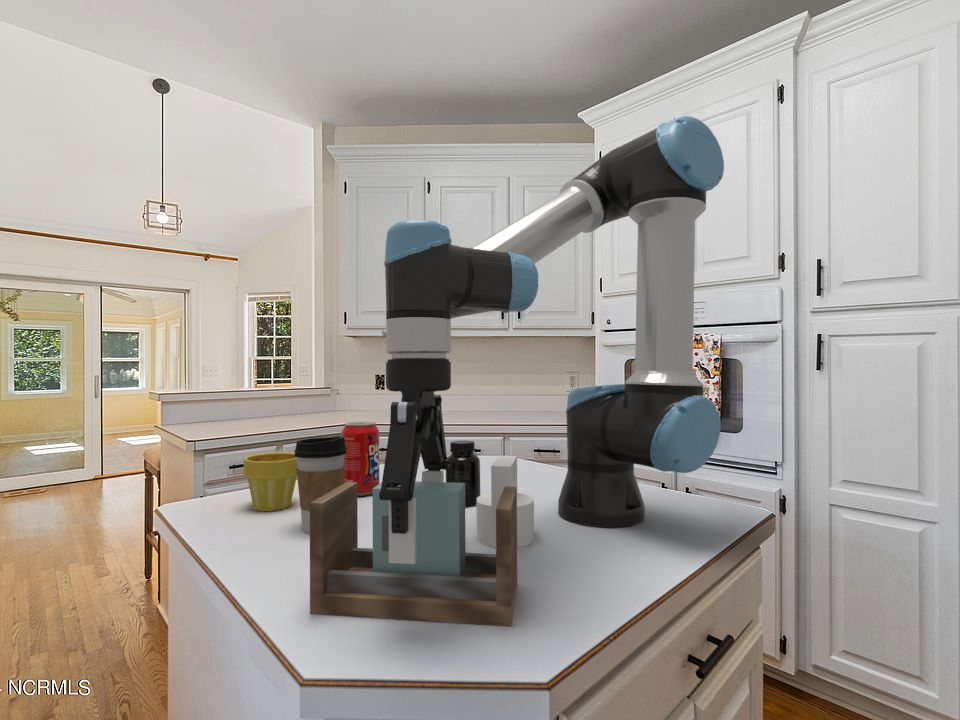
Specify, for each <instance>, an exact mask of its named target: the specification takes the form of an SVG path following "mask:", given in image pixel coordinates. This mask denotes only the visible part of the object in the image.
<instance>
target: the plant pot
mask: <svg viewBox="0 0 960 720" xmlns="http://www.w3.org/2000/svg"><path fill="white" fill-rule="evenodd" d="M294 455H295V452H290V451H289V452H286V451H285V452H284V451H283V452H282V451H281V452H280V451H278V452H276V451H275V452H262V453H256V454H251V455H247V456H245V457H244V459H243V476H244V477H245V478H247V483H248V488H249V493H250V497H251V503H252V508H253V509H254V510H255V511H257V510H258V511H257V512H264V511H267V512H275V511H274V510H277V511H281V510H280V509H282V510H284V508H285V509H287V508H286V507H288V506H289V507H291V505H292V500H293V495H294V490H295V488H296V487H295V486H296V481H297V468H298V466H297V457H295V456H294ZM289 507H288V508H289Z"/></svg>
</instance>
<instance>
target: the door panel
mask: <svg viewBox="0 0 960 720" xmlns="http://www.w3.org/2000/svg"><path fill="white" fill-rule="evenodd" d="M381 485H382V482H379V485H377V486H376V487H374V488H373V494H372V549H373V572H382V573H402V574H421V575H441V576H460V577H465V576H466V553H467V552H466V549H467V548H466V507H465V483H450V482H446V481H444V482H422V481H415V486H414V492H413V497H412V498H416V563H415V564H401V563H389V500H380V498H379V492H380V491H381ZM399 486H401V485H399Z"/></svg>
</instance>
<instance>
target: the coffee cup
mask: <svg viewBox="0 0 960 720" xmlns="http://www.w3.org/2000/svg"><path fill="white" fill-rule="evenodd" d="M346 450H347V448H346V445H345V438H344V437H341V436H331V437H329V436H328V437H315V438H305V439H300V440H297V441H296V444H295V449H294V452H293V453H295V455H294V456H295V457H297V466H298V468H297V478H296V480H297V486H298V495H299V496H298V497H299V506H300V515H301V528H302V531H303V532H305V533H307V534H310V503H311V502H312V501H314V500H316V499H318V498H319V497H321V496H323V495H325V494H326V493H328V492H330V491H332V490H334V489H335V488H337V487H339V486H341V485H342V484H343V479H344V468H345V466H344V454H346V453H347V452H346Z"/></svg>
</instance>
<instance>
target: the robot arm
mask: <svg viewBox="0 0 960 720" xmlns="http://www.w3.org/2000/svg"><path fill="white" fill-rule="evenodd" d="M721 148H722V147H721V145H720V143H719V141H718V138H717V137H716V136H715V135H714V132H713V131H712V130H711V128H710V127H709V126H708V125H707V124H706V123H704V122H703V121H702V120H700V119H698V118H696V117H693V116H687V115H685V116H679V117H677V118H675V119H673V120H670V121H668V122H663V123H661V124H660V125H658V127H656V128H654V129H652V130H650V131H648V132H646V133H644V134H642V135H640V136H639V137H636V138H635V139H632V140H631V141H628V142H627V143H625V144H623V145H620V146H617V147H616V148H614V149H612V150H610V151H608V152H607V153H606V154H605V155H603V156H601V157H600V158H599V159H598V160H597V161H595V162H594V163H592V164H590V166H588V167H587V168H586V169H585V170H583V171H582V172H581V173H579V174H578V175H577V176H575V177H574V178H572V179H570V180H568V181H566V183H565V184H563V185H562V187H561V189H560V190H559V194H557V195H556V196H554V197H553V198H551V199H549V200H547V201H546V202H544V203H542V204H540V205H539V206H538V207H536V208H534V209H532V210H531V211H529V212H528V213H526V214H524V215H523V216H521V217H520V218H518V219H516V220H515V221H513V222H511V223H509V224H508V225H507V226H505V227H503V228H501V229H500V230H498V231H496V232H495V233H492V234H491V235H489V236H488V237H487V238H485V239H484V240H482V241H481V242H479V243H477V244H475V245H474V246H472V247H464V246H459V245H455V244H452V243H453V242H452V238H451V232H450V229H449V227H448V226H447V225H445V224H444V223H439V222H438V221H437V220H430V219H408V220H407V219H406V220H401V221H398V222H396V223H394V224H393V225H391V226H390V227H389V228H388V230H387V232H386V240H385V241H386V242H385V255H384V265H383V266H384V271H385V273H384V274H385V276H384V277H385V301H386V302H385V305H386V306H385V310H386V311H385V312H386V313H385V316H386V317H385V318H386V319H385V321H386V322H385V326H386V327H385V328H384V329H382V331H381V334H382V336H383V337H384V338H385V341H386V343H385V345H386V348H385V349H386V350H385V352H386V353H387V354H388V355H391V358H390V359H387V361H386V362H385V387H386V389H387V391H390V392H400V393H401V400H400V401H392V402H391V404H390V421H389V422H390V423H389V431H388V439H387V442H386V443H387V444H386V452H385V457H384V466H383V474H382V479H381V483H382V485H381V491H380V492H379V498H380V500H389V563H401V564H415V563H416V498H412V497H413V492H414V486H415V482H417V474H418V469H419V463H420V458H421V460H422V462H423V463H422V464H423V467H424V470H422V471H421V482H445V481H444V480H445V479H444V473H445V472H444V470H445V471H446V470H449V468H450V461H446V460H447V457H448V454H447V447H446V437H445V430H444V419H443V411H442V410H443V409H442V400H443V398H442V395H441V394H435V392H442V391H443V392H444V391H448V390H449V389H450V388H451V386H452V368H451V367H452V363H451V361H450V359H449V358H447V355H449V354H450V353H451V352H452V319H456V318H460V317H465V316H472V315H477V314H478V315H479V314H482V313H488V312H503V313H505V314H508V313H511V312H513V313H517V312H518V313H519V312H521V313H522V312H524V311H526V310H527V309H529V308H530V307H531V306H532V304H533V303H534V301H535V299H536V297H537V295H538V291H539V286H540V285H539V272H538V269H537V265H536V264H537V263H539V262H540V261H541V260H542V259H544V258H546V257H547V256H548V255H550V254H551V253H552V252H554V251H556V250H557V249H559V248H560V247H561V246H564V245H565V244H566V243H568V242H570V241H571V240H572V239H573V238H575V237H576V236H578V235H579V234H581V233H583V234H584V233H585V234H589V233H592V232H594V231H596V230H597V229H598V228H600V227H602V226H603V225H606V224H609V223H612V222H613V221H614V222H615V221H616V220H620V219H622V218H623V219H624V218H626V217H629V219H631V220H632V221H633V222H634V223H635V224H636V225H637V243H636V245H637V246H636V247H637V248H636V249H637V251H636V254H637V255H636V299H635V301H636V307H635V308H636V309H635V310H636V311H635V348H634V349H635V351H634V352H635V355H634V361H635V362H634V363H635V364H634V372H633V374H631V375H630V376H629V377H628V378H627V379H626V380H625V381H624V383H623V384H622V383H621V384H605V385H593V386H592V385H591V386H585V387H578V388H575V389H572V390H571V391H570V392H568V395H567V404H566V410H565V413H566V440H567V441H566V443H567V444H566V448H567V451H566V452H567V453H566V454H567V470H566V475H565V478H564V481H563V484H562V487H561V491H560V494H559V497H558V501H557V503H558V504H557V505H558V507H557V509H558V510H557V511H558V512H557V513H558V515H559V516H560V517H561V518H563V519H564V520H567V521H570V522H573V523H575V524H580V525H585V526H592V527H601V528H602V527H603V528H605V527H606V528H610V527H611V528H612V527H613V528H616V527H617V528H618V527H627V526H628V527H629V526H632V525H637V524H640V523H641V522H643V521H644V520H645V518H646V515H645V514H646V512H645V511H646V507H645V502H644V499H643V497H642V494H641V493H642V492H641V489H640V486H639V484H638V482H637V478H636V474H635V465H640V466H644V467H649V468H653V469H656V470H658V471H661V472H673V473H678V474H679V473H681V474H687V473H691V472H695V471H696V470H698V469H700V468H702V467H703V466H704V465H705V464H706V463H707V462H708V461H709V458H711V456H712V455H713V454H714V452H715V450H716V448H717V445H718V444H719V439H720V434H721V418H720V417H721V416H720V413H719V411H717V406H716V405H715V403H714V402H713V401H712V400H710V399H709V398H707V397H706V396H704V383H703V382H702V381H701V380H700V379H698V378H697V377H696V376H695V374H694V327H695V326H694V315H695V313H694V311H695V310H694V309H695V308H694V307H695V260H696V258H695V253H696V251H695V249H696V247H695V246H696V245H695V244H696V242H695V241H696V220H698V219H699V218H700V216H702V214H703V213H704V212H705V211H706V208H707V192H708V191H712V190H713V189H714V188H716V187H717V186H718V185H719V184H720V181H722V179H723V176H724V171H725V163H724V162H725V161H724V156H723V152H722V149H721ZM399 485H401V486H399Z"/></svg>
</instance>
